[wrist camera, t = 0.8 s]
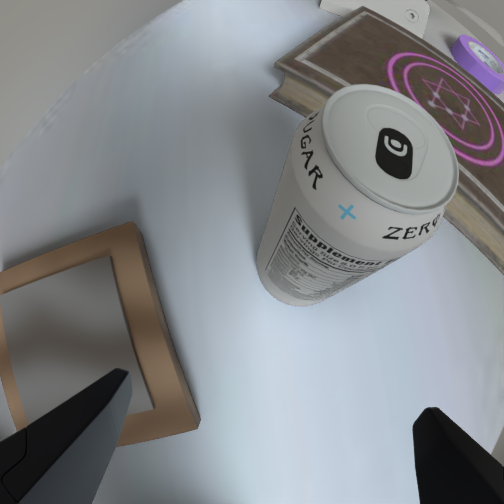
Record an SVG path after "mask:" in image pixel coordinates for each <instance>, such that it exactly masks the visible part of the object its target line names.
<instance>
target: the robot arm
mask: <svg viewBox="0 0 504 504" xmlns="http://www.w3.org/2000/svg"><path fill="white" fill-rule="evenodd" d="M132 392H133V389H132V380H131V373H130V372H129V371H128V370H124V369H121V368H115V369H113V370H112V371H110V372H109V373H107V374H106V375H104V376H103V377H101V378H100V379H98V380H97V381H95V382H93V383H92V384H90V385H89V386H87V387H86V388H84V389H83V390H81V391H80V392H78V393H77V394H75V395H74V396H72V397H71V398H69V399H68V400H66V401H65V402H63V403H61V404H60V405H58V406H57V407H55V408H54V409H52V410H51V411H49V412H48V413H46V414H44V415H43V416H41V417H40V418H38V419H37V420H35V421H34V422H32V423H30V424H29V425H27V427H24V428H22V429H21V430H19V431H18V432H16V433H14V434H13V435H11V436H9V437H8V438H6V439H4V440H2V441H1V442H0V504H92V502H93V500H94V497H95V495H96V492H97V490H98V487H99V485H100V483H101V480H102V478H103V475H104V473H105V471H106V468H107V466H108V464H109V461H110V459H111V457H112V454H113V452H114V450H115V448H116V445H117V443H118V440H119V437H120V434H121V431H122V427H123V424H124V420H125V417H126V414H127V411H128V407H129V404H130V401H131V398H132ZM413 442H414V457H415V470H416V477H417V484H418V491H419V499H420V504H504V467H503V466H502V465H501V464H500V463H499V462H498V461H497V460H496V459H495V458H494V457H492V456H491V455H490V454H489V453H488V452H487V451H486V450H485V449H484V448H482V447H481V446H480V445H479V444H478V443H477V442H476V441H475V440H474V439H472V438H471V437H470V436H469V435H468V434H467V433H466V432H465V431H463V430H462V429H461V428H460V427H459V426H458V425H457V424H456V423H455V422H453V421H452V420H451V419H450V418H449V417H448V416H447V415H446V414H444V413H443V412H442V411H441V410H440V409H439V408H437V407H428V408H426V409H424V411H423V412H422V413H421V414H420V416H419V417H418V418H417V420H416V421H415V422H414V424H413Z"/></svg>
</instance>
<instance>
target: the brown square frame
mask: <svg viewBox="0 0 504 504" xmlns="http://www.w3.org/2000/svg"><path fill="white" fill-rule="evenodd" d="M115 368H121V369H124V370H128V371H129V372H130V373H131V380H132V389H133V392H132V398H131V401H130V404H129V407H128V411H127V414H126V417H125V420H124V424H123V427H122V431H121V434H120V437H119V440H118V443H117V445H116V447H118V446H123V445H129V444H134V443H140V442H145V441H149V440H154V439H159V438H163V437H167V436H172V435H176V434H180V433H184V432H188V431H192V430H195V429H198V426H199V423H200V421H201V419H200V417H199V414H198V412H197V409H196V406H195V404H194V401H193V399H192V396H191V393H190V391H189V388H188V385H187V383H186V380H185V377H184V374H183V372H182V369H181V366H180V363H179V360H178V357H177V354H176V351H175V348H174V345H173V342H172V339H171V336H170V333H169V330H168V327H167V324H166V320H165V317H164V314H163V311H162V307H161V304H160V301H159V297H158V294H157V290H156V287H155V283H154V279H153V276H152V272H151V268H150V264H149V260H148V257H147V253H146V249H145V245H144V240H143V236H142V233H141V232H140V230H139V229H138V228H137V226H136V225H135V223H134V222H133V221H131V222H128V223H125V224H123V225H120V226H117V227H114V228H111V229H108V230H106V231H103V232H100V233H97V234H95V235H92V236H89V237H86V238H84V239H81V240H78V241H76V242H73V243H71V244H68V245H65V246H63V247H60V248H58V249H55V250H53V251H50V252H48V253H45V254H43V255H40V256H38V257H35V258H33V259H30V260H28V261H26V262H23V263H21V264H18V265H16V266H14V267H11V268H9V269H7V270H5V271H2V272H0V377H1V381H2V385H3V388H4V392H5V396H6V399H7V402H8V406H9V409H10V412H11V415H12V418H13V421H14V424H15V427H16V429H17V432H18V431H19V430H21V429H22V428H24V427H27V425H29V424H30V423H32V422H34V421H35V420H37V419H38V418H40V417H41V416H43V415H44V414H46V413H48V412H49V411H51V410H52V409H54V408H55V407H57V406H58V405H60V404H61V403H63V402H65V401H66V400H68V399H69V398H71V397H72V396H74V395H75V394H77V393H78V392H80V391H81V390H83V389H84V388H86V387H87V386H89V385H90V384H92V383H93V382H95V381H97V380H98V379H100V378H101V377H103V376H104V375H106V374H107V373H109V372H110V371H112V370H113V369H115Z"/></svg>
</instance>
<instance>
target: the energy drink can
mask: <svg viewBox="0 0 504 504" xmlns="http://www.w3.org/2000/svg"><path fill="white" fill-rule="evenodd" d="M458 179H459V169H458V162H457V158H456V155H455V152H454V149H453V147H452V145H451V142H450V140H449V138H448V137H447V135H446V134H445V132H444V131H443V129H442V128H441V126H440V125H439V124H438V123H437V122H436V120H435V119H434V118H433V117H432V116H431V115H430V114H429V113H428V112H427V111H426V110H425V109H423V108H422V107H421V106H420V105H418V104H417V103H416V102H414V101H413V100H411V99H410V98H408V97H406V96H404V95H402V94H401V93H398V92H396V91H394V90H391V89H389V88H385V87H381V86H378V85H370V84H356V85H351V86H347V87H344V88H342V89H340V90H338V91H336V92H335V93H334V94H333V95H332V96H331V97H330V98H329V99H328V100H327V102H326V104H325V106H323V107H321V108H319V109H318V110H316V111H314V112H313V113H311V114H309V115H308V116H307V117H306V118H305V119H304V120H303V121H302V122H301V123H300V125H299V126H298V128H297V130H296V132H295V134H294V136H293V139H292V142H291V146H290V149H289V152H288V155H287V159H286V162H285V165H284V169H283V172H282V175H281V178H280V182H279V185H278V188H277V191H276V195H275V198H274V201H273V204H272V208H271V211H270V214H269V217H268V221H267V224H266V227H265V230H264V234H263V237H262V240H261V243H260V246H259V250H258V254H257V264H256V265H257V271H258V275H259V278H260V281H261V282H262V284H263V286H264V287H265V289H266V290H267V291H268V292H269V293H270V294H271V295H272V296H273V297H274V298H276V299H277V300H278V301H281V302H283V303H285V304H288V305H292V306H299V307H304V306H311V305H314V304H316V303H319V302H321V301H323V300H325V299H327V298H329V297H331V296H333V295H334V294H336V293H338V292H340V291H342V290H344V289H346V288H348V287H349V286H351V285H353V284H355V283H357V282H359V281H360V280H362V279H364V278H366V277H368V276H369V275H371V274H373V273H375V272H376V271H378V270H380V269H382V268H383V267H385V266H387V265H389V264H390V263H392V262H394V261H396V260H397V259H399V258H401V257H402V256H404V255H406V254H407V253H409V252H411V251H412V250H414V249H416V248H417V247H419V246H421V245H422V244H423V243H425V242H426V241H427V240H428V239H430V238H431V237H432V236H433V234H434V233H435V231H436V230H437V229H438V227H439V225H440V223H441V220H442V217H443V215H444V211H445V207H446V204H447V203H448V202H449V201H450V200H451V198H452V197H453V195H454V194H455V192H456V188H457V185H458Z"/></svg>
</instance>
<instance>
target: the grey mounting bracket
mask: <svg viewBox="0 0 504 504" xmlns="http://www.w3.org/2000/svg"><path fill="white" fill-rule="evenodd" d="M361 6H365V7H367V8H369V9H371V10H373V11H375V12H377V13H378V14H380V15H382V16H384V17H386V18H388V19H390V20H391V21H393V22H395V23H397V24H399V25H400V26H402V27H404V28H405V29H407V30H409V31H410V32H412V33H414V34H415V35H417V36H418V37H420V38H423V35H424V31H425V27H426V23H427V19H428V16H429V11H430V7H429V4H428V3H427V2H426V1H425V0H322V1H321V4H320V7H319V9H322V10H325V11H328V12H331V13H334V14H337V15H339V16H342V17H344V16H345V15H347V14H349V13H351V12H352V11H354V10H356V9H357V8H359V7H361Z"/></svg>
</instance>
